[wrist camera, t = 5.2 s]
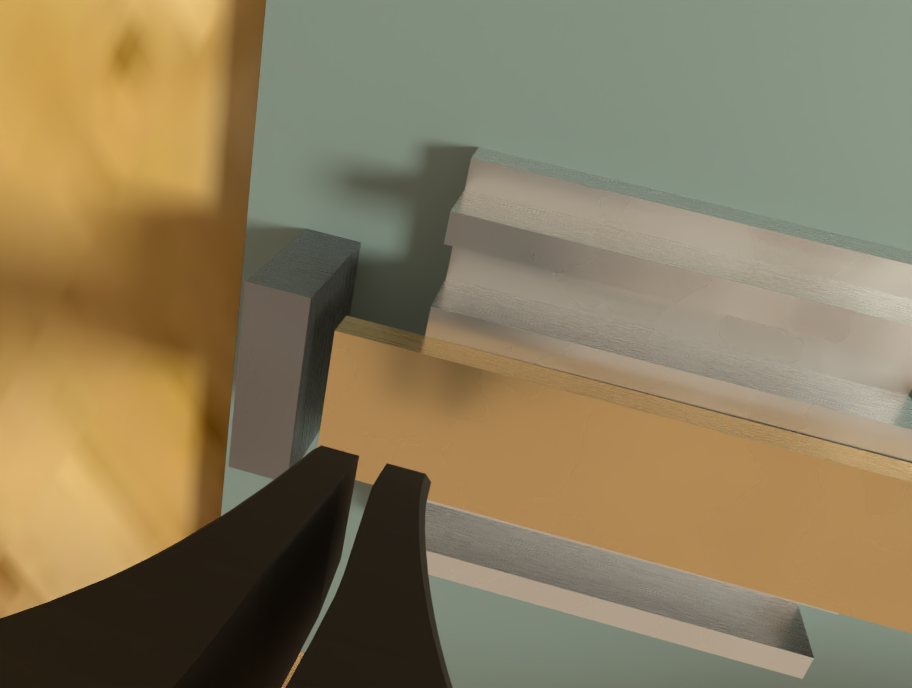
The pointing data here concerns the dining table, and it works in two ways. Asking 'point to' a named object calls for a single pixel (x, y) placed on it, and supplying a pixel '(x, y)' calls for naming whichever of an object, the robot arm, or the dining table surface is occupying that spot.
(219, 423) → the dining table surface
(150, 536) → the dining table surface
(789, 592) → the strap
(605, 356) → the heat sink
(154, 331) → the dining table surface
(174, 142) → the dining table surface
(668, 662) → the base board
